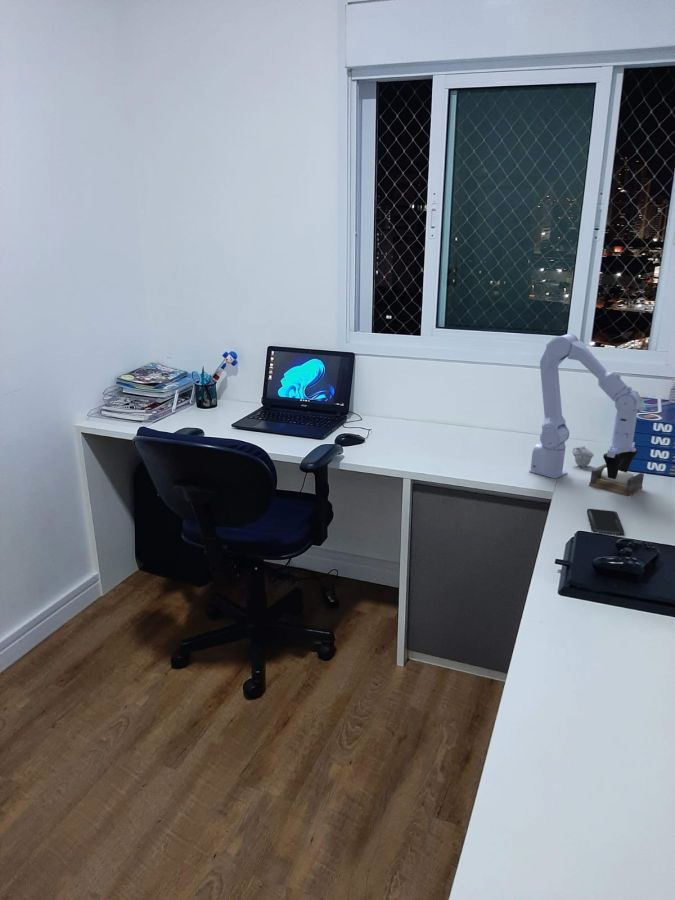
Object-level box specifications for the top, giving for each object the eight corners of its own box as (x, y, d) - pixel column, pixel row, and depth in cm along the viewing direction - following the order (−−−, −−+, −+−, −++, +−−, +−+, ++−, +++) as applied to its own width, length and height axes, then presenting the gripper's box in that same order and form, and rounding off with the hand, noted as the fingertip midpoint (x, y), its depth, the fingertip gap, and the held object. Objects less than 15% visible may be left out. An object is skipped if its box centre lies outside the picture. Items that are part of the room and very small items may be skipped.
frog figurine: (572, 461, 226) (574, 442, 224) (593, 465, 223) (596, 445, 221) (568, 466, 221) (570, 446, 219) (590, 470, 218) (593, 449, 216)
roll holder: (589, 485, 204) (591, 470, 202) (602, 479, 210) (604, 464, 208) (629, 496, 195) (632, 480, 194) (642, 489, 201) (644, 473, 200)
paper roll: (599, 482, 203) (602, 468, 202) (606, 479, 206) (608, 466, 205) (626, 489, 198) (628, 475, 196) (632, 486, 201) (634, 472, 199)
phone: (592, 529, 170) (586, 508, 184) (591, 533, 170) (586, 512, 184) (625, 533, 168) (617, 511, 182) (624, 537, 168) (616, 515, 182)
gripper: (626, 439, 190) (620, 484, 194) (647, 430, 199) (640, 473, 203) (602, 434, 194) (596, 478, 198) (624, 425, 204) (617, 467, 208)
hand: (617, 475), depth 201 cm, fingers open, 7 cm apart
